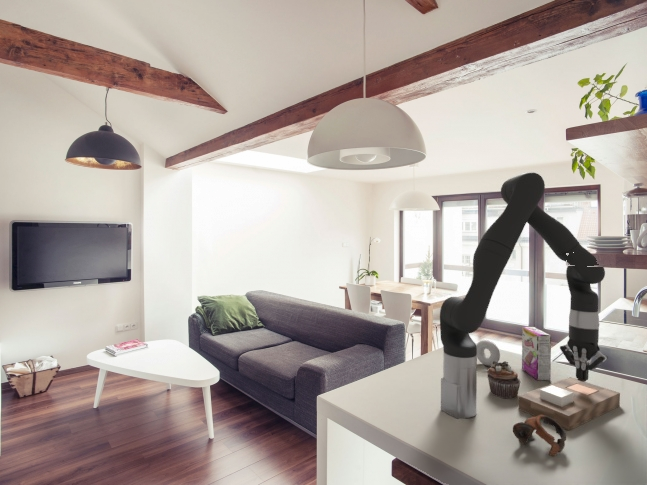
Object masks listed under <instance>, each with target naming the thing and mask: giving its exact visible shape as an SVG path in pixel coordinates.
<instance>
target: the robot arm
mask: <svg viewBox="0 0 647 485" xmlns="http://www.w3.org/2000/svg"><path fill="white" fill-rule="evenodd" d="M501 185H502V186H501V188H500V195H501V198H502V199H503V201H504V202H505V204H506V207H505V208H504V210H503V212H502V213H501V214H500V216H498V218H497V219H496V220H495V221H494V222H493V223H492V224H491V225H490V226H489V228H488V229H487V230H486V231H485V232H484V234H483V236H482V237H481V239H480V241H479V242H478V245H477V246H476V248H475V251H474V254H473V259H472V282H471V285H469V289H468V291H467V293H466V295H465V296H464V298H463V297H460V296H459V297H458V296H450V297H447V298H446V299H445V300H444V301H443V302H442V304H441V307H440V311H439V328H440V329H439V330H440V333H439V334H440V341H441V344H442V347H443V348H442V349H443V350H442V351H443V359H442V360H443V363H442V364H443V365H442V366H443V374H442V375H443V376H442V377H441V379H440V410H441V411H443V412H444V413H446V414H448V415H450V416H451V417H453V418H455V419H461V418H463V419H464V418H465V419H468V418H473V417H474V416H476V415H477V392H478V391H477V386H478V385H477V383H478V382H477V380H478V379H477V376H478V375H477V373H478V372H477V371H478V370H477V368H478V358H477V346H476V345H477V343H475V341H474V340H473V339H472V338H471V336H470V334H472V333H475V332H476V331H477V330H478V329H479V328H480V327H481V325H482V324H483V321H484V320H485V317H486V314H487V311H488V309H489V306H490V302H491V300H492V297H493V294H494V292H495V289H496V287H497V285H498V283H499V280H500V278H501V276H502V274H503V272H504V270H505V268H506V266H507V264H508V262H509V260H510V258H511V256H512V254H513V252H514V249H515V247H516V245H517V243H518V240H519V238H520V237H521V235H522V233H523V231H524V228H525V226H526V224H529V225H530V227H531V228H533V229H534V231H536V232H537V234H538V235H539V236H540V237H541V238H542V239H543V240H544V242H545V243H546V245H548V247H549V248H550V249H551V250H552V252H553V253H554V254H555V256H556V257H557V258H558V259H560V261H562V262H563V261H564V262H566V260H567V262H566V263H567V264H568V265H569V264H570V265H575V266H568V265H567V266H566V270H565V271H566V272H565V276H566V282H567V286H568V287H567V288H568V290H569V293H570V306H569V308H570V309H569V315H568V340H567V343H566V344H563V345H560V346H559V349H560V351H561V352H562V354H563V356H564V357H565V358H566V360H567V361H568V363H569V364H570V365H572V366H574V367H575V379H578V380H579V381H582V382H587V381H589V380H588V379H589V372H590V371H593V370H595V369H597V368H598V367H599V366H601V365H602V364H603V363H605V362H606V361H607V360H608V359H609V356H607V355H606V354H603V352H601V350H600V346H599V339H600V338H599V336H600V334H599V332H600V331H599V330H600V329H599V328H600V318H599V317H600V316H599V301H600V300H599V295H598V293H597V292H595V291H594V290H593V289H592V287H591V285H597V284H599V283H601V282H602V281H603V280H604V278H605V275H606V271H605V267H604V266H603V267H587V266H594V265H599V264H597V262H596V261H597V260H596V258H597V257H596V258H595V255H594V254H592V253H591V252H590V251H589V250H587V249H586V248H585V247H583V245H582V244H581V243H580V242H579V241H578V239H577V238H576V237H575V235H574V234H573V233H572V231H570V229H569V228H568V227H566V225H564V224H563V223H562V222H560V221H559V220H557V219H556V218H554V217H552V216H551V215H549V214H548V213H547V212H545V211H544V210H543V209H542V208H541V207H540V206H539V203H540V201H541V200H542V198H543V197H544V192H545V188H546V187H545V186H546V185H545V181H544V179H543V177H542V176H541V174H539V173H537V172H534V171H531V172H524V173H521V174H519V175H516V176H514V177H513V176H512V177H510V178H508V179H507V180H506V181H504V182H503V184H501ZM573 252H574V253H573ZM566 253H569V255H568V256H567V255H566ZM594 357H595V360H593V362H592V359H593V358H594ZM591 362H592V363H591Z"/></svg>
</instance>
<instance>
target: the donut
mask: <svg viewBox="0 0 647 485" xmlns="http://www.w3.org/2000/svg"><path fill="white" fill-rule="evenodd" d="M476 346H477V361H479V363H481V364H482V365H484V366H487V367H492V366H491V364H492V363H493V361H495V362H497V363H499V361H500V357H501V352H500V349H499V347H498V346H497V345H496V344H495V343H494V342H493V341H491V340H489V339H483V340H480V341H478V342H477V343H476ZM485 350H488V351H489V353H490V355H489V356H487V355H486V354H485Z"/></svg>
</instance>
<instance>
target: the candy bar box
mask: <svg viewBox="0 0 647 485" xmlns="http://www.w3.org/2000/svg"><path fill="white" fill-rule="evenodd" d="M551 344H552V335H551V334H549V333H548V332H545V331H543V330H541V329H539V328H538V327H536V326H522V327H521V369H522V370H523V371H525V372H526V373H527V374H528V375H530V376H531V377H532V378H534V379H535V380H537V381H541V382H542V381H551V372H552V371H551V370H552V369H551V367H552V366H551V360H552V359H551V357H552V355H551V354H552V349H551V348H552V345H551Z"/></svg>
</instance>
